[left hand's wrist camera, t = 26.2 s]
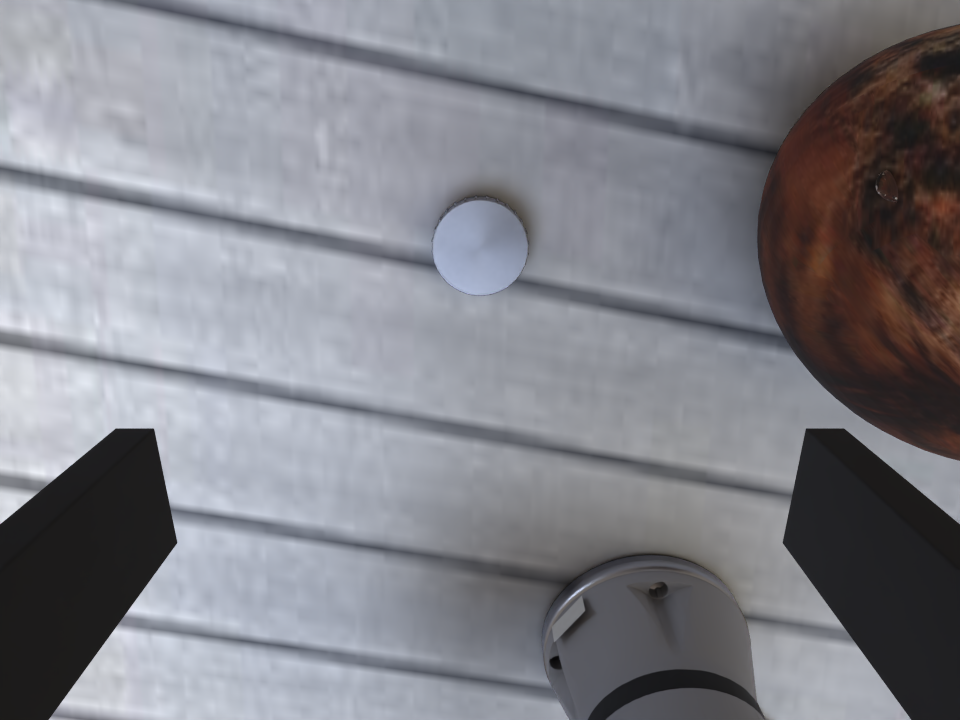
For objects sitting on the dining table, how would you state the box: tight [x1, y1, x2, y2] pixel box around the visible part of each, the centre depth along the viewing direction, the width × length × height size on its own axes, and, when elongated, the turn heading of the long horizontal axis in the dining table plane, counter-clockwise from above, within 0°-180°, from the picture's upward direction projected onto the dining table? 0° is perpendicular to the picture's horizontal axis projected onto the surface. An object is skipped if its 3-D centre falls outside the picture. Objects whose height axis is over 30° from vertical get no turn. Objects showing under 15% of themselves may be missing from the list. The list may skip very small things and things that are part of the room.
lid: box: [432, 195, 529, 296], centre depth 37 cm, size 6×6×2 cm
